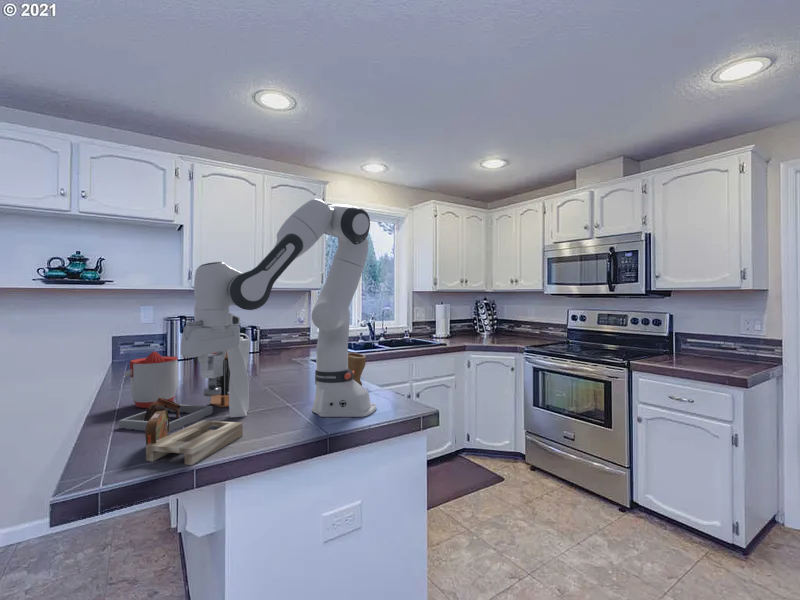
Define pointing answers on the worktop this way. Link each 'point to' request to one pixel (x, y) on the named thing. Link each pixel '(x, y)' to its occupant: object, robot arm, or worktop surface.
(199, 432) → the keyhole plate
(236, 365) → the skyscraper
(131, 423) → the grey flat square frame
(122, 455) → the worktop surface
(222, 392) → the whiskey bottle
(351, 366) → the tan flared vase
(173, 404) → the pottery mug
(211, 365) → the peg
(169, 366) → the citrus juicer
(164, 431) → the tin
